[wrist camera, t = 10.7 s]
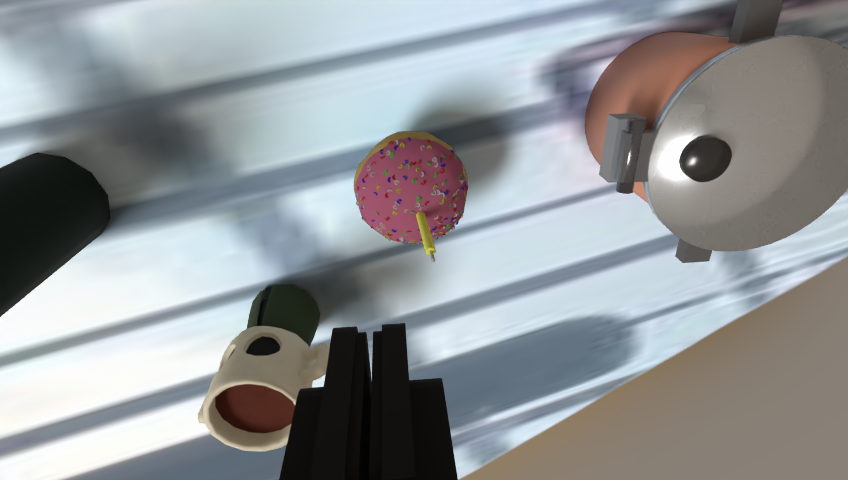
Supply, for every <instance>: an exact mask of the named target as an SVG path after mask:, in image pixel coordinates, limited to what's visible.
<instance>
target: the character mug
mask: <svg viewBox="0 0 848 480" xmlns="http://www.w3.org/2000/svg"><path fill="white" fill-rule="evenodd" d="M263 291H264V290H263ZM263 291H260V293H259V294H258V295H257V297H256V298H255V299H254V301H253V303H252V307H251V310H250V314H249V319H248V325H247V329H246V330H244V331H243V332H241V333H240V334H239V335H238V336H237V337H236V338H235V339H234V340H233V341H232V342H231V343H230V345H229V346H228V348H227V349H226V351H225V353H224V355H223V357H222V360H221V362H220V367H219V371H218V372H217V373H216V375H215V377H214V378H213V380H212V382H211V385H210V389H209V391H208V394H207V395H206V398H205V400H204V402H203V404H202V407H201V409H200V411H199V413H198V421H199V423H205V424H206V426H207V428H208V429H209V431H210V433H211V434H212V435H213V436H214V437H216V438H217V439H219V440H220V441H221V442H223V443H224V444H226V445H229V446H232V447H235V448H238V449H241V450H244V451H261V452H264V451H269V450H273V449H278V448H282V447H283V446H285V445H287V442H288V437H289V432H290V428H291V423H292V418H293V414H294V409H295V404H296V400H297V396H298V392H299V390H300V389H303V388H312V382H313V380H316V379H318V378H320V377H322V376H323V375H325V374H326V369H327V363H328V356H329V349H330V348H329V345H328V344H325V343H322V344H318V345H316V346H314V347H311V348H309V347H310V345H311V342H312V340H313V338H314V335H315V332H316V330H317V327H318V323H319V318H320V312H319V310H318V307H317V304H316V302H315V301H314V300H313V298H312V297H311V296H310V295H309V294H308V293H307V292H306V291H305V290H303V289H300V288H297V287H295V286H292V285H274V286H272V289H271V292H270V295H269V296H267V297H266V298H265V299H264V300H263V301H261V299H262V295H263ZM315 359H316V360H315Z"/></svg>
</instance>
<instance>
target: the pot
mask: <svg viewBox="0 0 848 480" xmlns="http://www.w3.org/2000/svg"><path fill="white" fill-rule="evenodd" d="M783 1H784V0H739V1H738V5H737V9H736V13H735V17H734V21H733V25H732V29H731V33H730V37H721V36H712V35H704V34H695V33H687V32H665V33H660V34H656V35H652V36H650V37H647V38H645V39H642V40H640V41H638V42H637V43H635V44H633V45H631V46H630V47H628V48H627V49H626V50H624V51H623V52H622V53H621V54H619V55H618V56H617V57H616V58H615V59H614V60H613V61H612V62H611V63H610V64H609V65H608V67H607V68H606V69H605V71H604V72H603V73H602V75H601V76H600V78H599V79H598V81H597V83H596V84H595V86H594V89H593V91H592V93H591V96H590V99H589V102H588V105H587V110H586V116H585V133H586V138H587V143H588V146H589V148H590V151H591V153H592V155H593V156H594V158H595V159H596V161H597V162H598V163H599V164H600V165H601V166H600V172H599V175H600V176H601V177H603V178H604V179H605V180H606V181H607V182H617V180H616V179H615V178H614V175H615V169H616V163H617V157H618V151H619V145H620V139H621V133H622V130H626V126H627V120H628V118H643V119H646V124H645V130H646V129H651V128H652V126H653V124H654V122H655V120H656V118H657V116H658V114H659V112H660V111H661V109H662V108H663V106H664V105H665V103H666V102H667V100H668V99H669V98H670V97H671V95H672V94H673V93H674V92H675V91H676V89H677V88H678V87H679V86H680V85H681V84H682V83H683V82H684V81H685V80H686V79H687V78H688V77H689V76H690V75H691V74H692V73H693V72H695V71H696V70H697V69H699V68H700V67H701V66H702V65H704V64H705V63H706V62H708V61H709V60H711V59H713V58H714V57H716V56H717V55H719V54H720V53H722V52H724V51H726V50H728V49H731V48H733V47H735V46H737V45H740V44H742V43H745V42H748V41H751V40H754V39H759V38H763V37H767V36H774V32H775V29H776V25H777V22H778V18H779V15H780V11H781V8H782V4H783ZM633 192H634V193H636V194H637V195H638V196H640V197H641V198H642V199H643V200H645V201H646V202H647V199H646V196H645V193H644V188H643V182H635V183H634V189H633ZM647 203H648V202H647ZM711 253H712V250H708V249H704V248H700V247H697V246H694V245H692V244H689V243H687V242H685V241H683V240H682V239H679V243H678V247H677V252H676V257H677V258H678V259H679V260H680V261H681V262H682V263H688V262H704V261H709V260H710V256H711Z"/></svg>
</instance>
